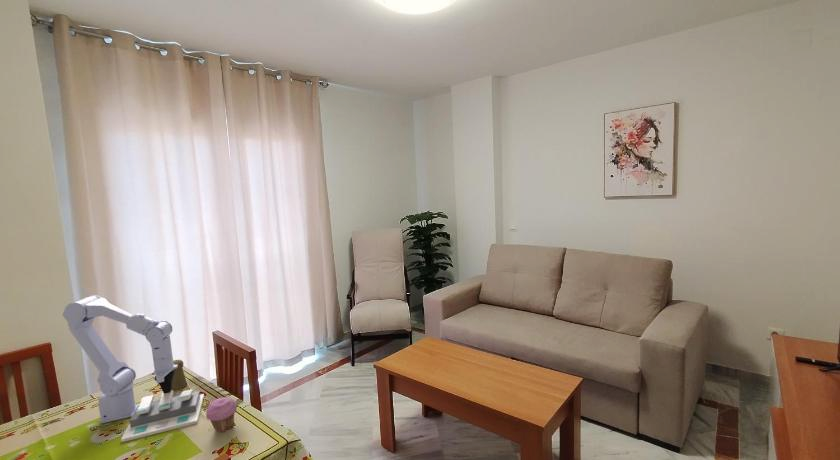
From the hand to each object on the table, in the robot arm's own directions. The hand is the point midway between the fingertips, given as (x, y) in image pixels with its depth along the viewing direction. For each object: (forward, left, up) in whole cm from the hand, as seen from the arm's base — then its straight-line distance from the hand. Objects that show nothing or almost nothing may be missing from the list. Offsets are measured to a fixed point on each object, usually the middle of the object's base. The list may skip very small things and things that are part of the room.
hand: (167, 391), depth 135 cm
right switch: (+6, -3, -2) cm, 7 cm away
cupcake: (+19, -21, -7) cm, 29 cm away
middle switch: (0, -3, -2) cm, 4 cm away
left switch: (-6, -3, -2) cm, 7 cm away
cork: (0, +17, -7) cm, 18 cm away
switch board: (0, -5, -7) cm, 8 cm away
